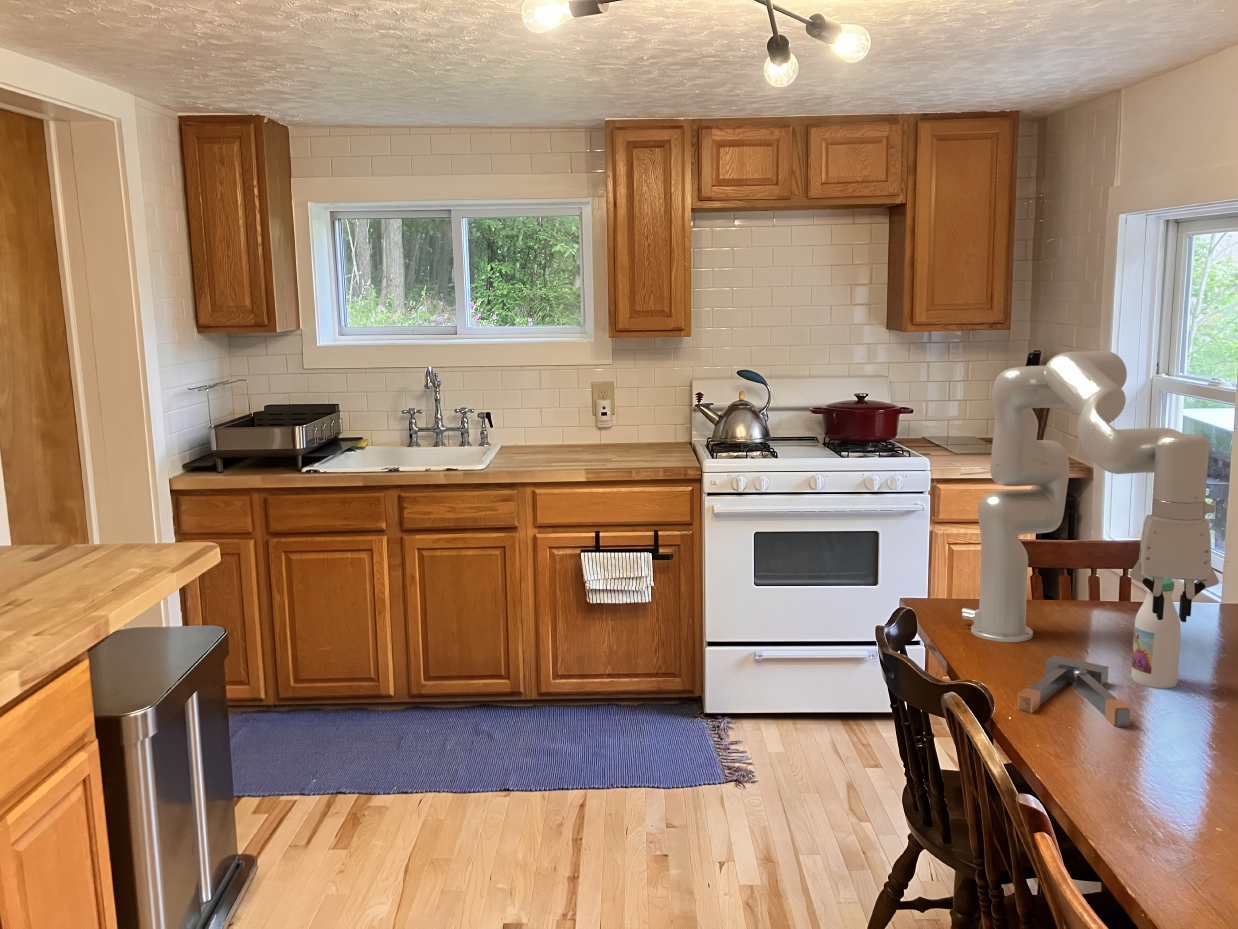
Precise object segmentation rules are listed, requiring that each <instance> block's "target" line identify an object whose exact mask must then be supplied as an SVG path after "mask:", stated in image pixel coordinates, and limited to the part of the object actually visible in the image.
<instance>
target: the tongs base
mask: <svg viewBox="0 0 1238 929" xmlns="http://www.w3.org/2000/svg"><path fill="white" fill-rule="evenodd" d="M1074 669H1084V670H1086V671H1087V674H1089V675H1090V676H1091V677H1092V678H1093V679H1095V680H1096V681H1097V682H1098V683H1099V684H1100V685H1102V686H1103V687H1104V688H1105V686H1106V685H1107V684H1108V682H1109V666H1107V665H1103V664H1097V663H1093V662H1088V661H1085V660H1084V661H1083V660H1078V659H1075V658H1074V659H1073V658H1069V657H1064V656H1061V655H1060V656H1059V655H1054V654H1053V655H1052V656H1051V657H1049V658H1048V659H1047V660H1046V661H1045V675H1044V676H1043V677H1041V678H1040V679H1039V680H1037V681H1036V682H1035V683H1034V684H1032V685H1031V686H1030V687H1025V688H1024V689H1022V690H1021V691H1019V692H1018V693H1017V707H1016V710H1018V711H1021V712H1025V713H1029V714H1033V713H1034V712H1036V711H1037V710H1039V708H1040V706H1041V705H1042V704H1043V703H1044V702H1046V701H1047V700H1049V699H1050V697H1052V696H1053V695H1054V694H1056V693H1057V692H1058V691H1060V690H1061V689H1063V687H1064V686H1065V685H1067V684H1068V683H1071V684H1073V670H1074Z"/></svg>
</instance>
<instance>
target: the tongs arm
mask: <svg viewBox="0 0 1238 929" xmlns="http://www.w3.org/2000/svg"><path fill="white" fill-rule="evenodd" d="M1072 688H1073V689H1075V690H1076V691H1077V692H1078V693H1080V694H1081V696H1083V697H1084V698H1085V699H1086V700H1087V701H1088V702H1089V703H1090V704H1092V706H1094V708H1096V709H1097V710H1098V711H1099V712H1100V713H1101V714H1102V715H1104V719H1105V720H1107V721H1108V722H1109V723H1110V724H1111V725H1112V726H1114V727H1116V728H1130V727H1131V726H1130V724H1131V712H1132V711H1131V707H1130V706H1129V705H1128V704H1127V703H1126V702H1124V701H1123V699H1118V698H1117V697H1116V696H1114V695H1113V694H1112V693H1111V692H1110V691H1108V689H1106V688H1105V686H1104V687H1103V686H1102V685H1100V684H1099V683H1098V682H1097V681H1096V680H1095V679H1093V678H1092V677H1091V676H1090V675H1089V674H1087V671H1086V670H1084V669H1074V670H1073V683H1072Z"/></svg>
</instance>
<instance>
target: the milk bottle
mask: <svg viewBox="0 0 1238 929" xmlns="http://www.w3.org/2000/svg"><path fill="white" fill-rule="evenodd" d="M1149 578H1150V579H1151V580H1153V577H1149ZM1174 590H1175V581H1174V580H1173V579H1164V578H1163V584H1162V592H1163V596H1164V611H1163V620H1158V619H1157V616H1156V613H1153V612H1152V607H1153V593H1152V592H1151V591H1150V590H1149V589H1148V588H1147V587H1146V586H1145V591H1146V596H1145V599H1144V601H1143V603H1142V604H1141V606H1140V608H1139V609H1138V612H1137V613H1136V616H1135V620H1134V625H1133V626H1134V628H1133V637H1132V638H1133V641H1132V642H1133V643H1132V655H1131V656H1132V657H1131V658H1132V659H1131V660H1132V661H1131V679H1132V681H1133V683H1136V684H1138V685H1141V686H1143V687H1148V688H1152V689H1153V688H1154V689H1163V690H1165V689H1172V688H1175V687H1176V686H1177V685H1178V681H1179V680H1178V679H1179V663H1180V653H1181V651H1180V650H1181V648H1180V647H1181V620H1180V618H1179V612H1178V611H1177V609H1176V607H1175V604H1174V600H1173V594H1174V593H1175V592H1174Z"/></svg>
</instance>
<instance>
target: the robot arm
mask: <svg viewBox="0 0 1238 929" xmlns="http://www.w3.org/2000/svg"><path fill="white" fill-rule="evenodd" d="M1127 372H1128V371H1127V367H1126V364H1125V362H1124V360H1123V359H1122V358H1121V357H1120V356H1119V355H1117V354H1116V353H1115V352H1112V351H1108V350H1087V351H1066V352H1061V353H1059V354H1057V355H1054V356H1053V357H1052V358H1050V360H1049V361H1047V363H1046V365H1026V366H1025V365H1024V366H1017V367H1016V366H1015V367H1011V368H1008V369H1005V370H1003V371H1002V372H1000V373H999V374H998V375H997V377H996V378H995V380H994V382H993V387H992V391H991V398H992V405H993V413H994V429H993V437H992V447H991V456H990V469H989V470H990V477H991V479H992V480H993V482H994V483H995V484H997V485H999V486H1004V487H1027V486H1028V487H1029V486H1034V487H1033V488H1032V489H1010V490H1009V489H1007V490H1000V491H999V490H998V491H994V492H990V493H988V494H985V495H984V496H983V497H982V498H980V500H979V503H978V505H977V519H978V520H977V521H978V525H979V533H980V576H979V577H980V578H979V580H980V581H979V583H980V584H979V603H978V604H979V606H978V608H977V609H972V608H968V607H963V608H962V610H961V616H962V619H964V620H968V621H969V620H971V621H972V622H973V623H972V624H971V626H970V632H971V633H972V634H973V635H974V636H976V637H978V638H980V639H984V640H987V641H992V642H999V643H1020V642H1022V643H1023V642H1026V641H1029V640H1031V639H1032V638H1033V636H1034V631H1033V630H1032V628H1031V627H1029V626H1027V625H1026V620H1027V599H1028V598H1027V595H1028V574H1029V573H1028V571H1029V570H1028V569H1029V556H1028V552H1027V549H1026V547H1024V545H1023V543H1022V542H1021V540H1020V538H1019V536H1023V535H1035V534H1037V535H1038V534H1046V533H1052V532H1054V531H1056V530H1057V529H1058V528H1059V527H1060V526H1061V524H1062V522H1063V518H1064V514H1065V506H1066V498H1067V492H1068V484H1069V478H1070V477H1069V476H1070V460H1069V456H1068V452H1067V450H1066V449H1065V447H1064V446H1063V445H1062V444H1061V443H1060V442H1057V441H1055V440H1050V439H1043V440H1042V439H1041V440H1040V439H1039V440H1038V433H1039V432H1038V431H1039V421H1038V417H1037V416H1036V413H1035V412H1034V409H1048V408H1049V409H1050V408H1051V409H1052V408H1054V409H1055V408H1069V409H1070V410H1071V411H1072V412H1073V413H1074V414H1075V415H1076V416H1077V417H1078V419H1077V423H1076V432H1077V438H1078V440H1079V445H1080V447H1081V449H1082V450H1083V452H1084V453H1085V454H1086V455H1087V456H1088V457H1089V458H1090V460H1092V461H1093V462H1094V463H1095V464H1096V465H1097V466H1098V467H1099V468H1101V469H1102V470H1104V471H1106V472H1107V473H1110V474H1116V475H1124V474H1129V475H1130V474H1139V473H1140V474H1141V473H1147V474H1148V473H1149V474H1152V473H1153V487H1152V488H1153V489H1152V503H1151V514H1146V515H1145V519H1144V522H1143V526H1142V531H1141V539H1140V546H1139V555H1138V560H1137V562H1136V563H1135V564H1134V566H1133V568H1132V569H1131V570H1130V572H1129V577H1130V578H1131V579H1132V580H1134V581H1137V583H1140V584H1142V585H1143V586H1144V587H1145V588H1146V587H1147V588H1148V589H1149V590H1150V591H1151V592H1152V593H1153V607H1152V612H1153V613H1156V616H1157V619H1158V620H1163V611H1164V596H1163V592H1162V584H1163V578H1164V579H1170V580H1179V581H1183V591H1182V592H1181V594H1180V596H1179V610H1178V611H1179V612H1178V616H1179V619H1180V622H1182V623H1187V617H1191V616H1192V600H1193V599H1194V598H1195V596H1197V595H1198V594H1200V593H1201V592H1202V591H1204V590H1206V589H1208V588H1212V587H1214V586H1217V585H1219V584H1220V580H1219V578H1218V576H1217V575H1216V572H1215V570H1214V569H1213V566H1212V541H1211V540H1212V538H1211V528H1210V522H1209V519H1208V518H1207V517H1206V516H1207V514H1215V513H1216V504H1210V503H1208V502H1207V501H1206V499H1207V498H1206V497H1207V481H1208V469H1209V468H1208V466H1209V457H1210V456H1209V455H1210V454H1209V452H1210V444H1209V442H1208V439H1207V438H1205V437H1204V436H1201V435H1198V434H1190V433H1182V432H1180V431H1179V430H1176V429H1173V428H1169V427H1151V428H1149V427H1143V428H1123V429H1116V428H1115V427H1113V426H1112V425H1111V423H1113V421H1115V420H1116V419H1117V418H1118V417H1119V416H1121V413H1122V412H1123V410H1124V409H1125V406H1126V399H1127V398H1126V394H1125V392H1124V390H1123V387H1124V386H1125V384H1126V382H1127V377H1128V374H1127ZM1151 577H1153V580H1151V579H1150V578H1151Z"/></svg>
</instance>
